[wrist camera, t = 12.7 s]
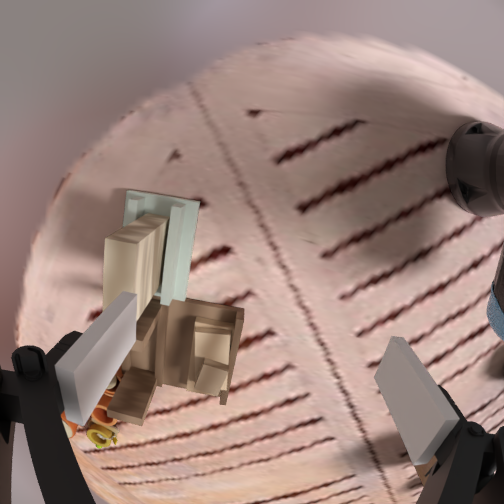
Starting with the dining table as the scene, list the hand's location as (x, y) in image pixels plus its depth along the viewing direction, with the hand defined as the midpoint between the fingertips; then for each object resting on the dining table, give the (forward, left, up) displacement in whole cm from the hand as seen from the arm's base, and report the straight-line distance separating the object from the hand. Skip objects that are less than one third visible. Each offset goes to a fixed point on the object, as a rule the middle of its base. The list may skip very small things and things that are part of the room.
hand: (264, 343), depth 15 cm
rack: (+7, +20, -29) cm, 36 cm away
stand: (+12, +5, -29) cm, 32 cm away
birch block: (+12, +5, -28) cm, 31 cm away
